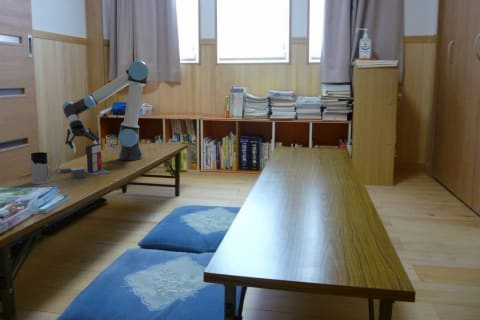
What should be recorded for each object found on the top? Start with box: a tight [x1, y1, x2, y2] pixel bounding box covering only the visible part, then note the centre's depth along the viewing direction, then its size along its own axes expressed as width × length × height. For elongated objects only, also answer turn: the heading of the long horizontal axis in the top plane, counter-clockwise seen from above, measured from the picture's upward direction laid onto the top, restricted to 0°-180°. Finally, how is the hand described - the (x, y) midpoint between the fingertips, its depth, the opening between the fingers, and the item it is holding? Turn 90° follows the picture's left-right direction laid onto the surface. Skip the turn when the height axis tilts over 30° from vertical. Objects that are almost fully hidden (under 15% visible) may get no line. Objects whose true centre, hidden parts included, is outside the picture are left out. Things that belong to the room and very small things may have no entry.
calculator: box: [85, 143, 103, 173], centre depth 252 cm, size 11×4×15 cm, turn 171°
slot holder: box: [59, 166, 85, 179], centre depth 245 cm, size 6×20×5 cm, turn 41°
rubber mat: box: [84, 168, 112, 176], centre depth 254 cm, size 11×16×1 cm
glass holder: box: [30, 151, 61, 185], centre depth 226 cm, size 9×14×15 cm, turn 111°
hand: (87, 151), depth 260 cm, fingers open, 13 cm apart
